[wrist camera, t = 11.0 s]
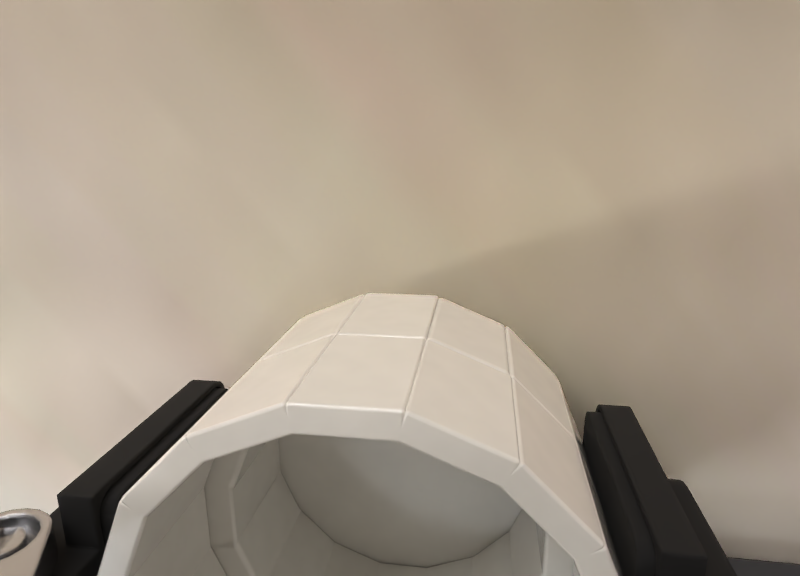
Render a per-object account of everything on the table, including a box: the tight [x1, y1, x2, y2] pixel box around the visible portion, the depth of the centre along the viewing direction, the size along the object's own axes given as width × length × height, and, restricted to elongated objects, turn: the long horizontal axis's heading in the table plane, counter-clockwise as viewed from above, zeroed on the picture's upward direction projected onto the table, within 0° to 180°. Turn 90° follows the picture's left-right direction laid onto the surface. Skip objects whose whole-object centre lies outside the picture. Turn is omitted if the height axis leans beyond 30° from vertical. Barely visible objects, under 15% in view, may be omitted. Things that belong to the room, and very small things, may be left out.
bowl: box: [97, 293, 623, 576], centre depth 9 cm, size 7×7×5 cm
